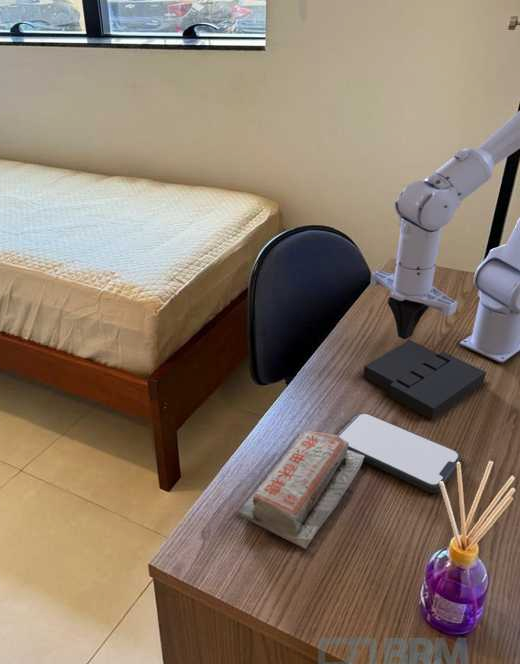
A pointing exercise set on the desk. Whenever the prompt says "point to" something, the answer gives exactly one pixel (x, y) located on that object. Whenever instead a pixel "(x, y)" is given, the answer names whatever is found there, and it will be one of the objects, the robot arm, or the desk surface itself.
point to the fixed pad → (438, 386)
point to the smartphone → (401, 452)
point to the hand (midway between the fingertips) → (405, 335)
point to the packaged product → (304, 487)
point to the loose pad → (401, 365)
